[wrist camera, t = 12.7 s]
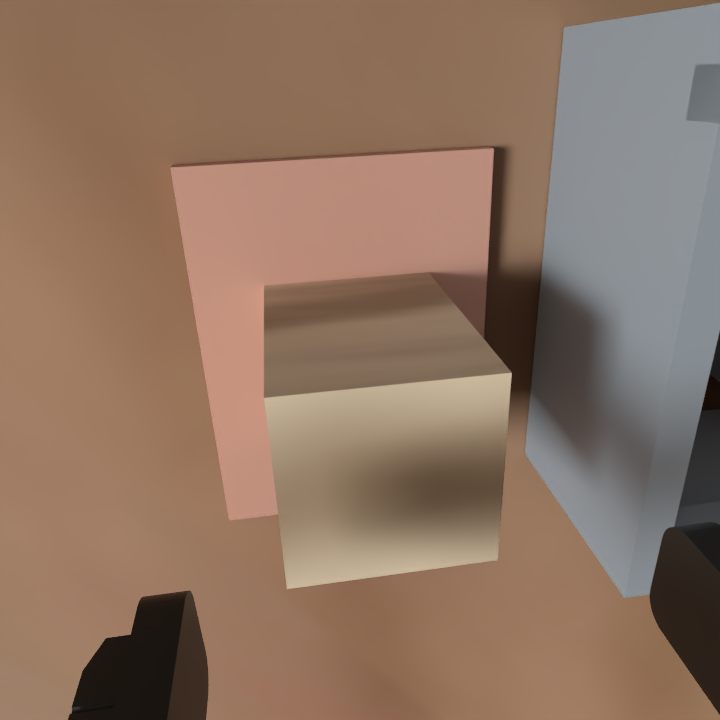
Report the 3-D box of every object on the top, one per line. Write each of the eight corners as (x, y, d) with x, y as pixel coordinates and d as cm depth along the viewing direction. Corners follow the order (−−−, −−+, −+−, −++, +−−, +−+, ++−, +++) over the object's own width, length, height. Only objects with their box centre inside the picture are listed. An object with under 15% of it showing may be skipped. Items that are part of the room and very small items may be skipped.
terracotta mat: (172, 165, 17) (170, 167, 16) (488, 146, 18) (494, 148, 17) (230, 511, 22) (229, 520, 22) (472, 481, 23) (476, 489, 23)
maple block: (263, 285, 18) (264, 398, 12) (428, 272, 19) (511, 372, 12) (279, 429, 20) (287, 589, 14) (427, 413, 21) (497, 560, 15)
